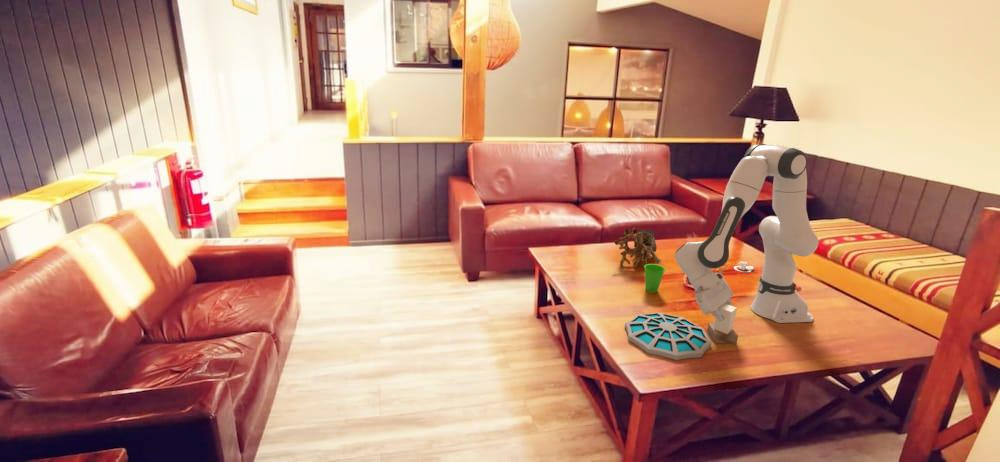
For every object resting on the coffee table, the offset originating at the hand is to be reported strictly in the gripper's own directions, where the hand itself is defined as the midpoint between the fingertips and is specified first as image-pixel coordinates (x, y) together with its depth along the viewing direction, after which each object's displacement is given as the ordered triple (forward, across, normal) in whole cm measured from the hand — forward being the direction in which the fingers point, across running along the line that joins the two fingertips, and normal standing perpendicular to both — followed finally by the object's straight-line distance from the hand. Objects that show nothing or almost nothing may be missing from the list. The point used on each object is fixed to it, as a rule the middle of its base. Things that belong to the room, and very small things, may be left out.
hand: (727, 316), depth 176 cm
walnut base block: (+6, 0, +7) cm, 9 cm away
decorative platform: (-4, -15, +18) cm, 23 cm away
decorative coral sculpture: (-37, +42, +50) cm, 75 cm away
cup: (-21, +17, +34) cm, 43 cm away
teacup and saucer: (-5, +72, +19) cm, 75 cm away
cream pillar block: (+4, 0, +4) cm, 6 cm away
